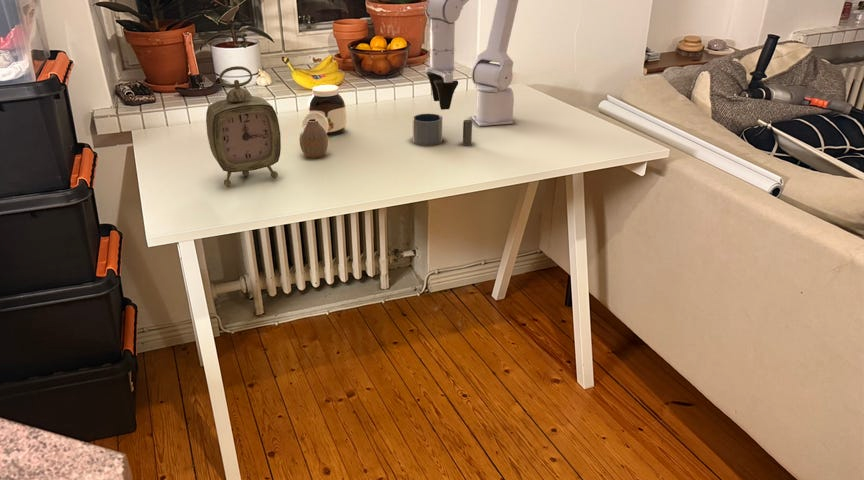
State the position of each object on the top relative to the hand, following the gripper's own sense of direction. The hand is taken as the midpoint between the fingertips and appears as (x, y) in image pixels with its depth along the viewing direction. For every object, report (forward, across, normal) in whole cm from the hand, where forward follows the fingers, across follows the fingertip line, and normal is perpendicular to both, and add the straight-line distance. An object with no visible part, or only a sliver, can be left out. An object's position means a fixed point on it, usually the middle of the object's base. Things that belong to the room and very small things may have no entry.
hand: (441, 104), depth 174 cm
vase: (+9, +5, -33) cm, 34 cm away
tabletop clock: (+9, +17, -48) cm, 52 cm away
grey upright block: (+9, +5, +5) cm, 12 cm away
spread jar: (+9, -11, -29) cm, 32 cm away
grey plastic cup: (+9, 0, -4) cm, 10 cm away
